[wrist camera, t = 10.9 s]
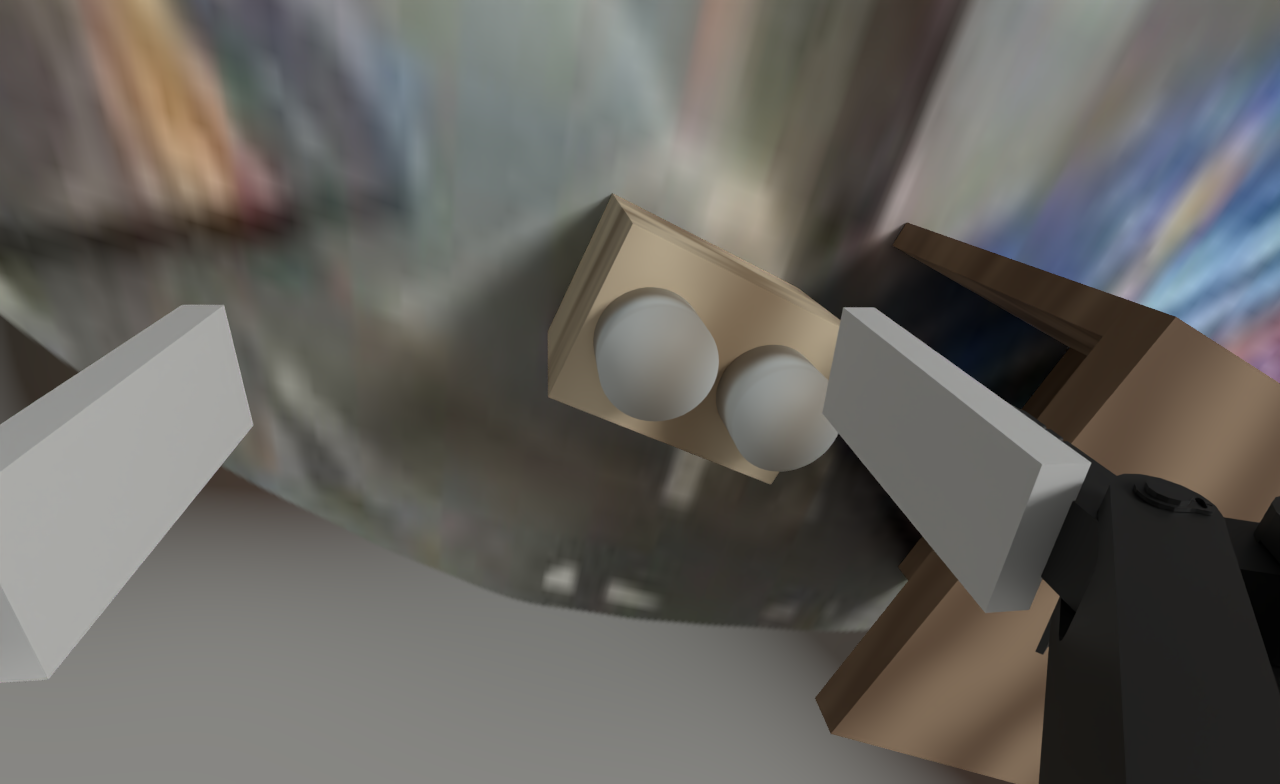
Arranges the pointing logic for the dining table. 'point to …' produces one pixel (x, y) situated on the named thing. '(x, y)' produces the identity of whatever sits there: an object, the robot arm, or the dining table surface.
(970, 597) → the wooden cubby
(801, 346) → the glass caddy
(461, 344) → the dining table surface
